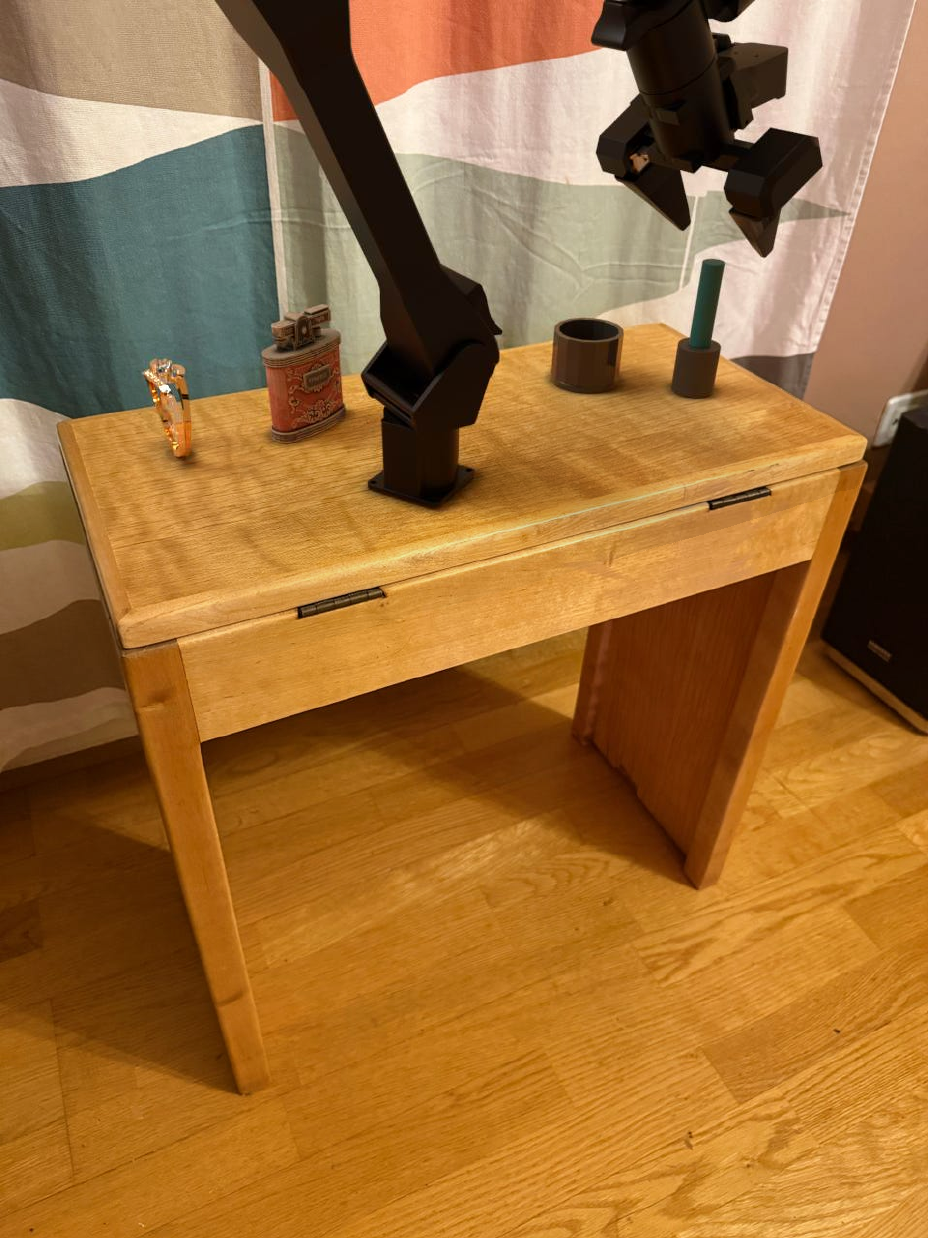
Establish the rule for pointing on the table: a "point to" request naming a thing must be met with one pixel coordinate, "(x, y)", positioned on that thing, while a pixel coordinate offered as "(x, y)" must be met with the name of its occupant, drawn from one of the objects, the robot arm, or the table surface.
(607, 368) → the tumbler
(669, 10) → the robot arm
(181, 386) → the ring
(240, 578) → the table surface
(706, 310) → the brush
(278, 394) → the lighter
